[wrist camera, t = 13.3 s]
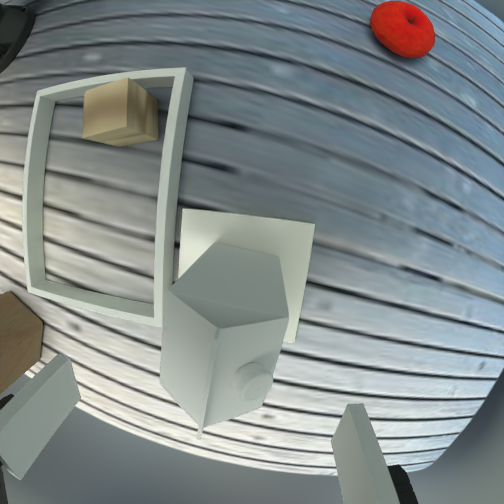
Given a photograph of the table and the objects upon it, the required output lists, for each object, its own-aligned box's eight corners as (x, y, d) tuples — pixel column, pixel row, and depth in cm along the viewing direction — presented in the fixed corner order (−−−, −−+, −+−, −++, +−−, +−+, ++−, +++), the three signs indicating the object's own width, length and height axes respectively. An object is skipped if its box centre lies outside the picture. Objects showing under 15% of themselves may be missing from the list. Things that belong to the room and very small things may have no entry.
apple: (356, 48, 25) (375, 19, 18) (368, 9, 24) (385, -21, 16) (413, 78, 26) (443, 57, 18) (421, 37, 24) (446, 14, 17)
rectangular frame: (52, 95, 28) (37, 90, 24) (193, 79, 27) (185, 67, 24) (42, 284, 34) (27, 292, 30) (171, 314, 33) (162, 327, 30)
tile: (185, 207, 30) (182, 208, 30) (313, 223, 30) (315, 224, 29) (179, 323, 34) (177, 327, 33) (293, 338, 33) (294, 342, 32)
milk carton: (203, 302, 32) (139, 422, 13) (213, 241, 30) (137, 319, 12) (264, 316, 32) (260, 451, 13) (279, 255, 30) (297, 356, 12)
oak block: (120, 108, 28) (84, 91, 20) (157, 99, 28) (128, 77, 20) (120, 147, 29) (82, 138, 22) (158, 139, 29) (126, 126, 21)
